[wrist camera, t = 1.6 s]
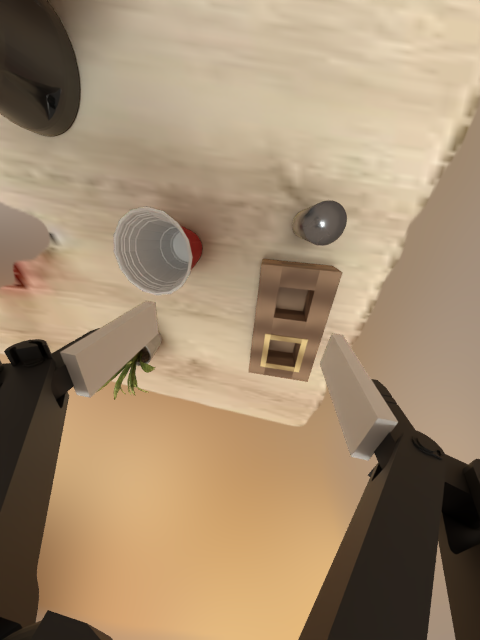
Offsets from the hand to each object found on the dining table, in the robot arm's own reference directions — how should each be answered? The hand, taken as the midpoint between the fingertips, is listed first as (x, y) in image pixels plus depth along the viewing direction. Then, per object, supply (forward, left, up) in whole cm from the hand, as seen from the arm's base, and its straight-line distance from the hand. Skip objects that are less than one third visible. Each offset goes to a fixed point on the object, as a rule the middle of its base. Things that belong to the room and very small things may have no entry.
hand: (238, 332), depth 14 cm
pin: (-8, +7, -23) cm, 25 cm away
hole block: (+9, +7, -23) cm, 26 cm away
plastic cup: (-3, -13, -23) cm, 27 cm away
